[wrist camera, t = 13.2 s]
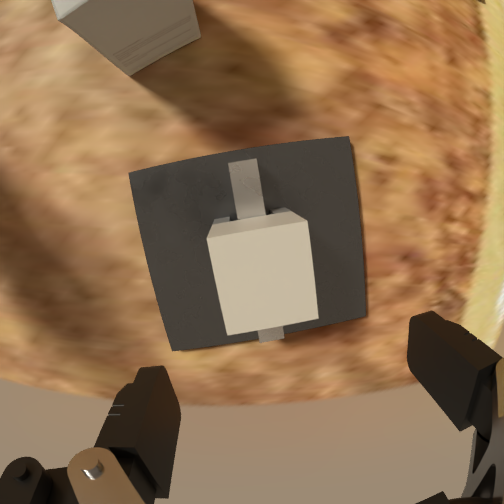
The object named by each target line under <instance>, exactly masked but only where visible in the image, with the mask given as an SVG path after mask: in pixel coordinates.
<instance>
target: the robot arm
mask: <svg viewBox="0 0 504 504" xmlns="http://www.w3.org/2000/svg"><path fill="white" fill-rule="evenodd" d="M407 362H408V366H409V369H410V371H411V372H412V374H413V375H414V376H415V377H416V378H417V380H418V381H419V382H420V383H421V384H422V386H423V387H424V388H425V389H426V390H427V392H428V393H429V394H430V395H431V396H432V398H433V399H434V400H435V401H436V403H437V404H438V405H439V406H440V407H441V409H442V410H443V411H444V412H445V414H446V415H447V416H448V417H449V419H450V420H451V421H452V422H453V424H454V425H455V426H456V427H457V429H458V430H459V431H462V430H464V429H466V428H468V427H470V426H472V425H473V426H474V427H475V428H476V429H475V432H474V434H473V442H472V450H471V458H470V465H469V472H468V477H467V482H466V486H465V489H464V491H463V493H462V496H461V498H456V499H450V500H448V499H447V497H446V495H445V494H444V492H443V491H442V492H440V493H438V494H436V495H434V496H432V497H429V498H427V499H425V500H423V501H421V502H419V503H416V504H504V358H502V357H501V356H500V355H499V354H497V353H496V352H495V351H494V350H492V349H491V348H490V347H488V346H487V345H486V344H485V343H483V342H482V341H481V340H479V339H478V340H477V337H475V336H474V335H473V334H472V333H471V334H470V333H469V331H468V330H466V329H465V328H464V327H462V326H461V325H459V324H456V323H454V322H451V321H448V320H445V319H443V318H442V317H441V316H439V315H438V314H437V313H435V312H434V311H428V312H425V313H422V314H419V315H415V316H412V317H411V319H410V322H409V336H408V350H407ZM108 414H109V416H107V418H106V420H105V422H104V424H103V427H102V429H101V431H100V434H99V436H98V438H97V441H96V443H95V446H94V448H88V449H85V450H83V451H81V452H79V453H78V454H76V455H75V456H74V457H73V458H72V459H71V461H70V462H69V464H68V467H64V468H57V469H48V470H45V469H44V468H43V467H42V465H41V464H40V463H39V462H38V461H37V460H36V459H34V458H31V457H21V458H18V459H16V460H14V461H12V462H11V463H10V464H9V465H8V466H7V467H6V469H5V471H4V472H3V474H2V476H1V478H0V504H154V500H155V498H169V491H170V484H171V477H172V470H173V464H174V458H175V451H176V445H177V439H178V433H179V427H180V421H181V412H180V406H179V402H178V400H177V397H176V394H175V392H174V389H173V387H172V384H171V381H170V379H169V376H168V373H167V371H166V369H165V367H164V366H152V367H141V368H140V369H139V370H138V373H137V375H136V377H135V380H134V382H133V383H130V384H127V385H126V386H125V387H124V388H122V389H121V390H120V391H119V392H118V393H117V395H116V398H115V400H114V402H113V407H111V409H110V411H109V413H108Z"/></svg>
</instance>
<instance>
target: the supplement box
mask: <svg viewBox="0 0 504 504" xmlns="http://www.w3.org/2000/svg"><path fill="white" fill-rule="evenodd" d="M51 1H52V4H53V7H54V10H55V13H56V16H57V19H58V21H60V22H61V23H63V24H65V25H66V26H67V27H69V28H70V29H72V30H73V31H74V32H75V33H77V34H78V35H79V36H80V37H82V38H83V39H84V40H85V41H87V42H88V43H89V44H90V45H91V46H93V47H94V48H95V49H96V50H97V51H98V52H100V53H101V54H102V55H103V56H104V57H106V58H107V59H108V60H109V61H110V62H112V63H113V64H114V65H115V66H116V67H118V68H119V69H120V70H122V71H123V72H124V73H125V74H126V75H128V76H131V75H133V74H134V73H136V72H137V71H139V70H141V69H143V68H144V67H146V66H148V65H149V64H151V63H153V62H155V61H156V60H158V59H160V58H162V57H164V56H165V55H167V54H169V53H171V52H173V51H175V50H177V49H179V48H180V47H182V46H184V45H186V44H188V43H190V42H192V41H194V40H197V39H199V38H201V33H200V29H199V25H198V21H197V17H196V13H195V8H194V4H193V0H51Z"/></svg>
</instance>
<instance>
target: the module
mask: <svg viewBox="0 0 504 504" xmlns="http://www.w3.org/2000/svg"><path fill="white" fill-rule="evenodd" d="M270 213H271V214H270V215H264V216H258V217H252V218H247V219H241V220H235V221H230V217H225V218H219V219H214V222H213V224H212V227H211V229H210V231H209V234H208V236H207V243H208V248H209V253H210V258H211V263H212V268H213V272H214V277H215V282H216V287H217V291H218V296H219V301H220V305H221V310H222V314H223V319H224V323H225V327H226V332H227V335H233V334H239V333H245V332H251V331H257V330H262V329H268V328H273V327H279V326H284V325H289V324H294V323H299V322H304V321H309V320H314V319H319V318H318V308H317V297H316V288H315V278H314V270H313V261H312V253H311V244H310V236H309V229H308V221H307V220H305V219H304V218H302V217H300V216H299V215H297V214H295V213H294V212H292V211H290V210H289V209H287V208H285V207H283V208H277V209H271V210H270Z"/></svg>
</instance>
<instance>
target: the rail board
mask: <svg viewBox="0 0 504 504" xmlns="http://www.w3.org/2000/svg"><path fill="white" fill-rule="evenodd" d="M129 179H130V184H131V190H132V195H133V200H134V205H135V210H136V215H137V220H138V225H139V229H140V234H141V238H142V243H143V247H144V251H145V256H146V260H147V264H148V268H149V272H150V276H151V280H152V283H153V287H154V291H155V295H156V298H157V302H158V306H159V309H160V313H161V316H162V320H163V323H164V326H165V330H166V333H167V336H168V339H169V343H170V346H171V349H172V351H179V350H187V349H194V348H202V347H209V346H216V345H223V344H229V343H236V342H242V341H248V340H254V339H259V341H260V343H262V342H267V341H273V340H278V339H284V334H287V333H292V332H297V331H302V330H307V329H311V328H316V327H321V326H325V325H330V324H334V323H339V322H343V321H347V320H352V319H356V318H360V317H364V316H366V304H365V280H364V262H363V248H362V236H361V225H360V215H359V205H358V196H357V188H356V180H355V173H354V166H353V159H352V152H351V146H350V140H349V136H346V137H335V138H324V139H315V140H306V141H297V142H289V143H281V144H274V145H267V146H260V147H253V148H247V149H241V150H235V151H229V152H223V153H218V154H212V155H207V156H202V157H197V158H192V159H187V160H182V161H177V162H173V163H168V164H164V165H159V166H155V167H151V168H146V169H142V170H138V171H134V172H130V173H129ZM283 207H285V208H287V209H289V210H290V211H292V212H294V213H295V214H297V215H299V216H300V217H302V218H304V219H305V220H307V221H308V229H309V236H310V244H311V253H312V261H313V270H314V278H315V288H316V297H317V308H318V318H319V319H314V320H309V321H304V322H299V323H294V324H289V325H284V326H279V327H273V328H268V329H262V330H257V331H251V332H245V333H239V334H233V335H227V332H226V327H225V323H224V319H223V314H222V310H221V305H220V301H219V296H218V291H217V287H216V282H215V277H214V272H213V268H212V263H211V258H210V253H209V248H208V243H207V236H208V234H209V231H210V229H211V227H212V224H213V222H214V219H219V218H225V217H230V221H235V220H241V219H247V218H252V217H258V216H264V215H270V214H271V213H270V210H271V209H277V208H283Z"/></svg>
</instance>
